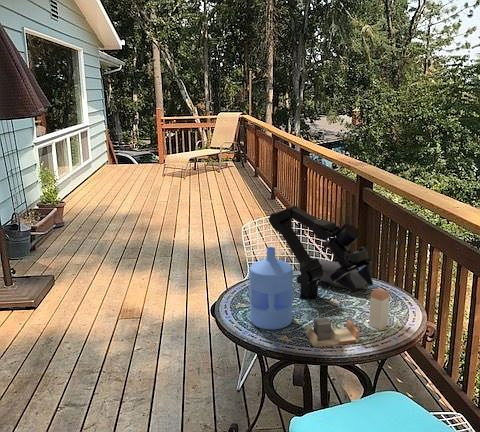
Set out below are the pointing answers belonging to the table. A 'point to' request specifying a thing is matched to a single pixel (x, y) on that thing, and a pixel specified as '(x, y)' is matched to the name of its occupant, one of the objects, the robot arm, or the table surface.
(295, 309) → the table surface
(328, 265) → the bluetooth speaker
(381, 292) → the plug
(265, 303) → the water jug
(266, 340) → the table surface
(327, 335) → the comb rack
